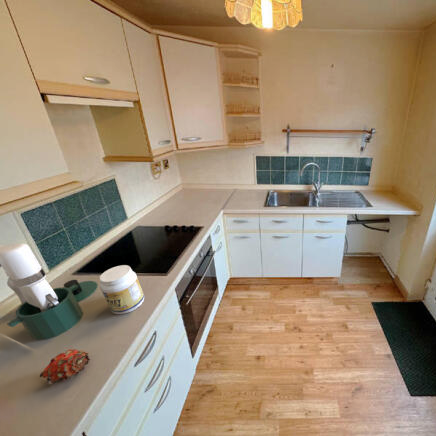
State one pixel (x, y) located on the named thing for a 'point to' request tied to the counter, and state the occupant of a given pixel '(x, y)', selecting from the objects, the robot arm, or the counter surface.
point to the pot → (50, 315)
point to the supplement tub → (121, 289)
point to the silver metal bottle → (15, 290)
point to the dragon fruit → (65, 365)
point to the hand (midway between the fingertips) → (53, 313)
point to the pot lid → (82, 289)
